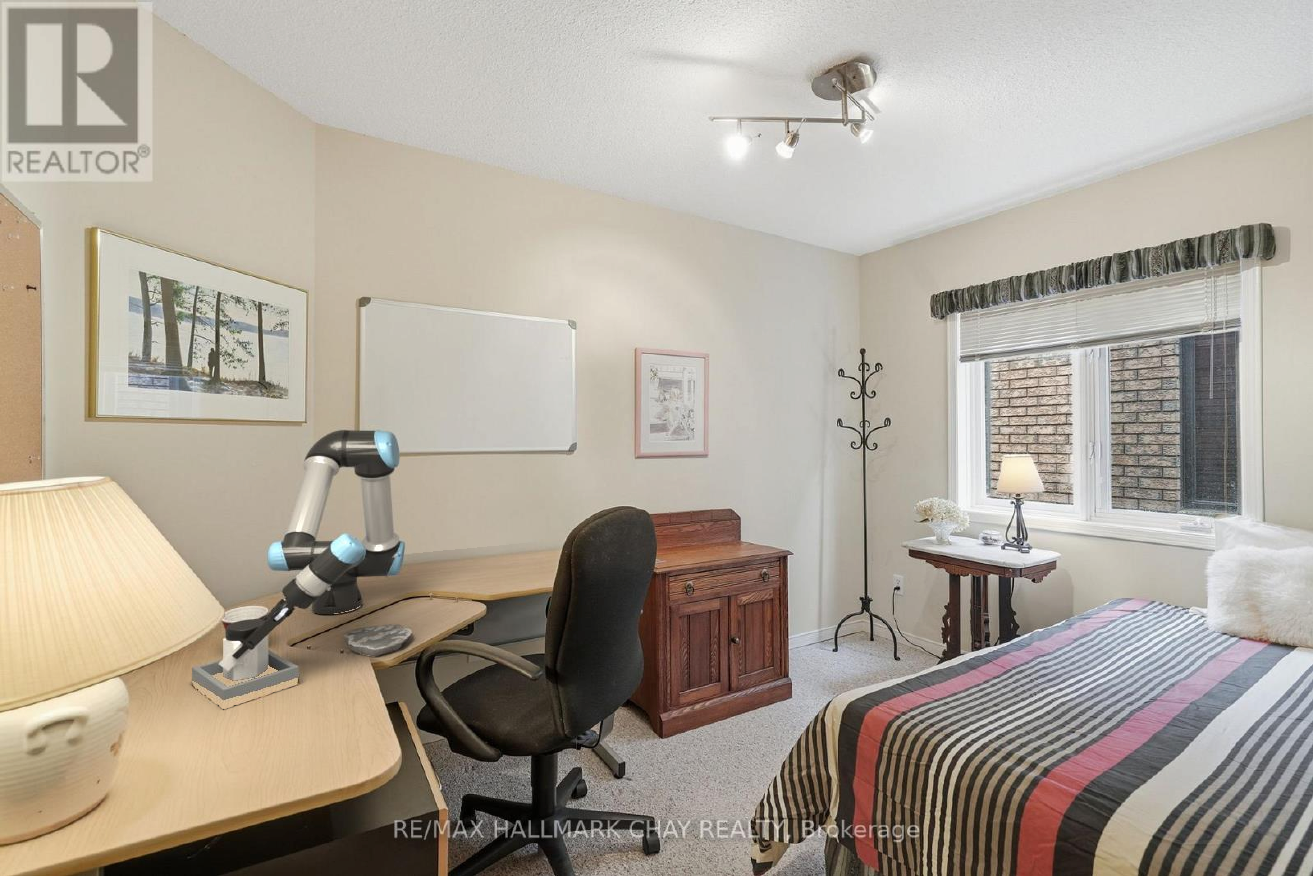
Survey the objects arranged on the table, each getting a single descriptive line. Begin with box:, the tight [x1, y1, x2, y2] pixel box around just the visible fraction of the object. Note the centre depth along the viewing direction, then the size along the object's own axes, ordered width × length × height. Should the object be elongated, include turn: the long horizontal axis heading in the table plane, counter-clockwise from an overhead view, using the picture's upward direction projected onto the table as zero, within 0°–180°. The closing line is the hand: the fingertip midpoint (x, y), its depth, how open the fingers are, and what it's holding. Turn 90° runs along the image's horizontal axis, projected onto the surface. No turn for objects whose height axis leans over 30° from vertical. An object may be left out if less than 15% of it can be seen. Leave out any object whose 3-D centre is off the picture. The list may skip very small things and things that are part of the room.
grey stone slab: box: [343, 624, 413, 657], centre depth 169 cm, size 20×17×3 cm
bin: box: [191, 649, 300, 700], centre depth 142 cm, size 19×16×4 cm
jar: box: [222, 619, 269, 681], centre depth 141 cm, size 9×8×12 cm
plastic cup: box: [220, 605, 269, 629], centre depth 159 cm, size 11×11×12 cm
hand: (229, 659), depth 140 cm, fingers closed on jar, 8 cm apart
